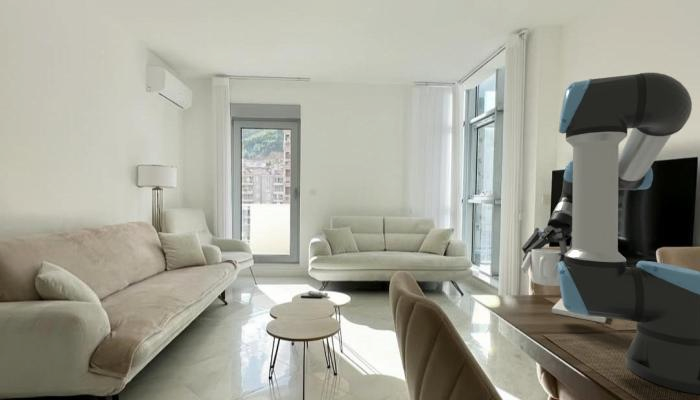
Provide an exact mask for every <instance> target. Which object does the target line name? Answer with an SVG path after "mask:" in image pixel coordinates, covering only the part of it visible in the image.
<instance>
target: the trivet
mask: <svg viewBox="0 0 700 400" xmlns="http://www.w3.org/2000/svg"><path fill="white" fill-rule="evenodd" d="M551 314H556V315H562V316H566V317H571V318H577V319H581V320H585V321H586V320H588V321H593V322H598V323H601V324H606V321H607V319H608V318H604V317H597V316H586V315H583V314H577V313H572V312H569V311H568V310H567V309H566V308H565V307H564V305H563V301H562V297H561V298H560V299H559V300H558V301H557V302H556V303H555V304H554V306H552V308H551Z"/></svg>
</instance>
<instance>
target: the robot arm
mask: <svg viewBox="0 0 700 400" xmlns="http://www.w3.org/2000/svg"><path fill="white" fill-rule="evenodd" d="M692 106H693V103H692V98H691V95H690V92H689V91H688V89H687V88H686V87H685V86H684V85H683V84H682V82H681V81H680V80H679V81H678V80H677V78H675V77H672V76H670V75H667V74H665V73H659V72H642V73H641V72H640V73H636V74H627V75H618V76H608V77H599V78H588V79H587V80H580V81H575V82H571V83H569V85H568V86H567V87H566V88H565V91H564V95H563V99H562V106H561V112H560V117H559V125H558V132H559V133H560V134H565V141H566V142H567V143H568V144H569V145H571V147H572V160H570V161H569V162H568V163H567V164H566V166H565V168H564V173H563V180H562V181H563V182H562V189H561V190H562V191H561V196H560V198H559V201H558V203H557V205H556V206H555V208H554V210H553V211H552V214H551V215H550V218H549V220H547V226H546V227H545V228H543V229H540V228H539V227H535V228H534V231H533V233H532V235H531V236H530V237H529V238H528V239H527V241H526V242H525V243H524V244H523V246H522V247H521V250H522V251H523V253H524V256H523V257H522V260H523V262H522V264H521V266H520V269H521V270H522V272H523V273H524V274H527V273H528V271H529V268H530V266H531V264H532V249H543V248H544V247H545V246H546V245H549V244H550V243H554V242H555V243H559V249H560V250H559V251H561V256H562V257H561V256H557V259H556V261H555V263H554V265H553V267H552V269H551V271H550V273H551V275H552V277H553V278H555V279H556V277H557V275H558V278H559V291H560V295H561V298H562V301H563V305H564V307H565V308H566V309H567V310H568V311H569V312H572V313H577V314H583V315H586V316H597V317H604V318H607V319H612V320H614V319H615V320H619V321H621V320H622V321H628V322H634V323H635V322H636V332H635V334H634V337H633V338H632V341H631V342H630V345H629V347H628V349H627V351H626V354H625V355H626V356H625V365H626V366H625V367H627V368H628V370H630V371H631V372H632V373H633V374H635V375H636V376H638V377H640V378H642V379H644V380H645V381H648V382H651V383H653V384H656V385H659V386H662V387H665V388H668V389H671V390H674V391H675V390H676V391H679V392H683V393H689V394H694V395H700V271H697V270H694V269H691V268H687V267H682V266H678V265H674V264H668V263H662V262H656V261H647V260H640V261H638V262H637V263H636V265H635V266H636V267H632V266H627V258H626V257H625V256H623V255H622V254H621V253H620V252H619V248H618V246H619V243H618V242H619V241H618V240H619V191H620V190H621V191H624V190H625V191H637V190H647V189H649V188H650V187H651V186H652V183H653V179H654V173H653V169H652V165H653V163H654V162H655V160H656V159H657V158H658V156H659V155H660V153H661V151H662V150H663V148H665V145H666V143H668V141H669V139H670V138H671V137H672V135H674V134H677V133H678V132H680V131H681V130H682V129H683V127H685V125H686V123H687V122H688V120H689V118H690V116H691V113H692V109H693V108H692ZM628 129H631V132H630V134H629V136H628ZM627 137H628V138H627ZM626 138H627V140H626V142H625V144H624V147H623V149H622V151H621V153H620V155H619V145H620V143H621V142H622V141H624V140H625V139H626ZM569 238H570V244H569V249H567V241H566V240H568V239H569Z"/></svg>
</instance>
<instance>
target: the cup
mask: <svg viewBox="0 0 700 400" xmlns="http://www.w3.org/2000/svg"><path fill="white" fill-rule="evenodd" d="M557 256H561V250H558V249H557V250H556V249H549V248H541V249H532V263H531V265H530V266H531V273H530V274H531V275H530V276H531V277H530V279H531V282H532V283H534V284H537V285H541V286H549V287H557V286H558V287H560V285H559V278H558V275H557V277H556V279H555V278H553V277H552V275H551V273H550V271H551V269H552V267H553V265H554V263H555V261H556V259H557ZM561 257H562V256H561Z"/></svg>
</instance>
